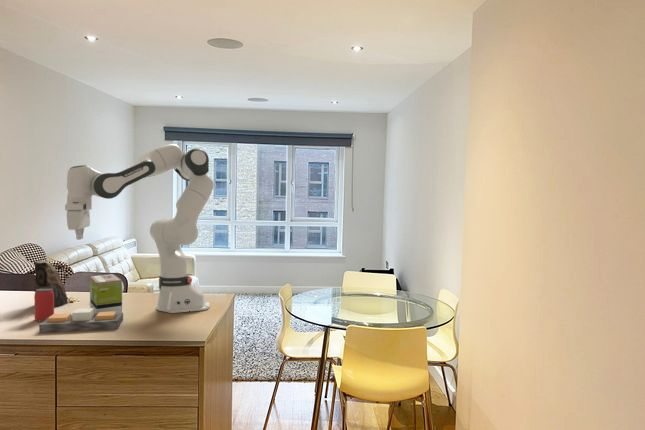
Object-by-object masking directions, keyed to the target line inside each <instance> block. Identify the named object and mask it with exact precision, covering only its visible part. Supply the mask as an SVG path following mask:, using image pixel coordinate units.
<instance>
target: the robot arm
mask: <svg viewBox="0 0 645 430" xmlns="http://www.w3.org/2000/svg"><path fill="white" fill-rule="evenodd" d="M209 163H210V160H209V155H208V153H207V152H206V151H205V150H204V149H201V148H199V147H198V148H197V147H196V148H191V149H190V150H188V151H187V152H186V153H185V152H183V150H182V148H181V147H180V146H179V145H177V144H175V143H170V144H169V143H168V144H165V145H161V146H158V147H155V148H152V149H151V150H149V151H146V152H145V153H144V154H141V156H139V158H138V161H137V162H136V163H135V164H134V165H132V166H130V167H127V168H126V169H124V170H121V171H119V172H107V173H103V172H100V171H98V170H96V169H94V168H92V167H91V166H90V165H88V164H84V165H83V164H82V165H81V164H80V165H76V166H75V165H74V166H71V167H70V168H69V169H68V170H67V175H66V189H67V195H66V203H65V205H64V210H65V211H66V225H67V229H68V230H69V231H74V232H75V236H76V238H75V239H76V240H83V239H84V232H85V228H87V227H89V226H91V213H90V210H93V209H92V208H93V207H92V206H93V205H92V201H93V200H92V199H93V198H92V196H94V197H95V196H96V197H98V198H102V199H106V200H107V199H108V200H109V199H114V198H116V197H118V196H119V195H120V193H122V192H123V190H124V189H126V188H127V187H129V186H130V185H132V184H135V183H137V182H139V181H140V180H143V179H145V178H151V177H155V176H159V175H161V174H164V173H166V172H168V171H170V170H172V169H174V171H175V172H176V173H177V174H178V176H180V178H181V179H182V180H184V181H187V182H188V185H187V186H186V187H185V189H184V190H183V192H182V194H181V195H180V197H179V198H178V200H177V201H176V203H175V207H176V209H177V210H176V213H175V216H174V218H161V219H157V220H155V221H154V222H152V224H151V225H150V227H149V234H150V237H151V238H152V240H153V241H154V243H155V246H156V248H157V252H158V256H159V274H160V275H159V277H158V289H159V293H158V300H157V305H156V308H155V309H156V310H157V311H160V312H163V313H164V312H165V313H168V314H175V313H176V314H177V313H187V312H189V311H190V312H197V311H206V310H208V309H210V306H211V305H210V302H209V301H206V300H205V295H204V292H203V291H202V290H201V289H200V288H198V287H196V286H195V285H194V284H193V283H192V282H193V278H192V277H191V275H187V274H188V273H187V271H188V270H187V269H188V267H187V266H188V265H187V263H188V261H187V256H186V255H185V253H184V252H183V250H182V247H181V246H189V245H192V244H194V243H195V241H196V240H197V239H198V236H199V229H198V227H197V224H198V218H199V216H200V214H201V213H202V211H203V209H204V207H205V205H207V203H208V200H209V199H210V197H211V194H212V192H213V189H214V180H213V179H212V177H210V176H209V175H207V173H209V169H210V167H209V166H210V164H209Z"/></svg>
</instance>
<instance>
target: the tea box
mask: <svg viewBox="0 0 645 430" xmlns="http://www.w3.org/2000/svg"><path fill="white" fill-rule="evenodd" d="M110 274H111V275H108V274H102V275H95V276H94V275H93V276H92V275H91V276H89V303H90V304H89V306H90V308H94V314H98V313H99V312H111V311H116V313H123V293H122V283H123V281H122V279H121V278H119V277H118V276H116V275H115V274H113V273H110Z"/></svg>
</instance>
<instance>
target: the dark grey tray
mask: <svg viewBox="0 0 645 430" xmlns="http://www.w3.org/2000/svg"><path fill="white" fill-rule="evenodd" d="M96 316H97V314H94V317H93V319H92V320H88V321H72V314H71V318H70V319H69V320H68V321H67V322H48V318H49V317H50V316H49V317H48V318H47V319H46V320H44V321H41V323H40V324H39V325H38V326H39V327H38V328H39V329H38V330H39V332H38V333H39V334H47V333H64V332H82V331H83V332H84V331H86V332H87V331H102V330H103V331H105V330H119V327H120V326H121V325H122V323H123V322H124V312H122V313H116V318H115V319H109V320H96Z"/></svg>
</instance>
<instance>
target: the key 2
mask: <svg viewBox="0 0 645 430" xmlns="http://www.w3.org/2000/svg"><path fill="white" fill-rule="evenodd" d="M115 318H116V311H111V312H99V313H98V314H97V316H96V320H109V319H115Z"/></svg>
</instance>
